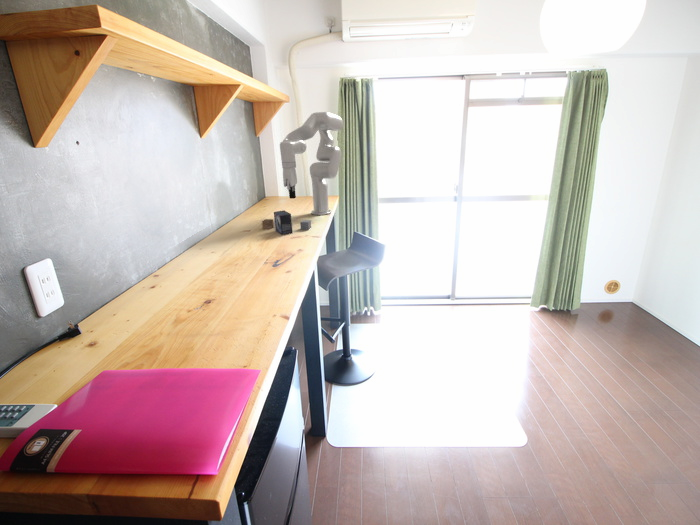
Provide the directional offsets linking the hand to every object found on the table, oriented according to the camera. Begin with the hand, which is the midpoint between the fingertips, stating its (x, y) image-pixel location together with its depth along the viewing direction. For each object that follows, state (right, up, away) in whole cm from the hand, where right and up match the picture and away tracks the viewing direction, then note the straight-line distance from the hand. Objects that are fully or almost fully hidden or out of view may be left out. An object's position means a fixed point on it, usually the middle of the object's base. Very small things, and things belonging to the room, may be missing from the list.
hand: (292, 198), depth 209 cm
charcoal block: (+9, -18, -8) cm, 22 cm away
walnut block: (-13, -17, -4) cm, 22 cm away
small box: (-3, -20, -12) cm, 24 cm away
